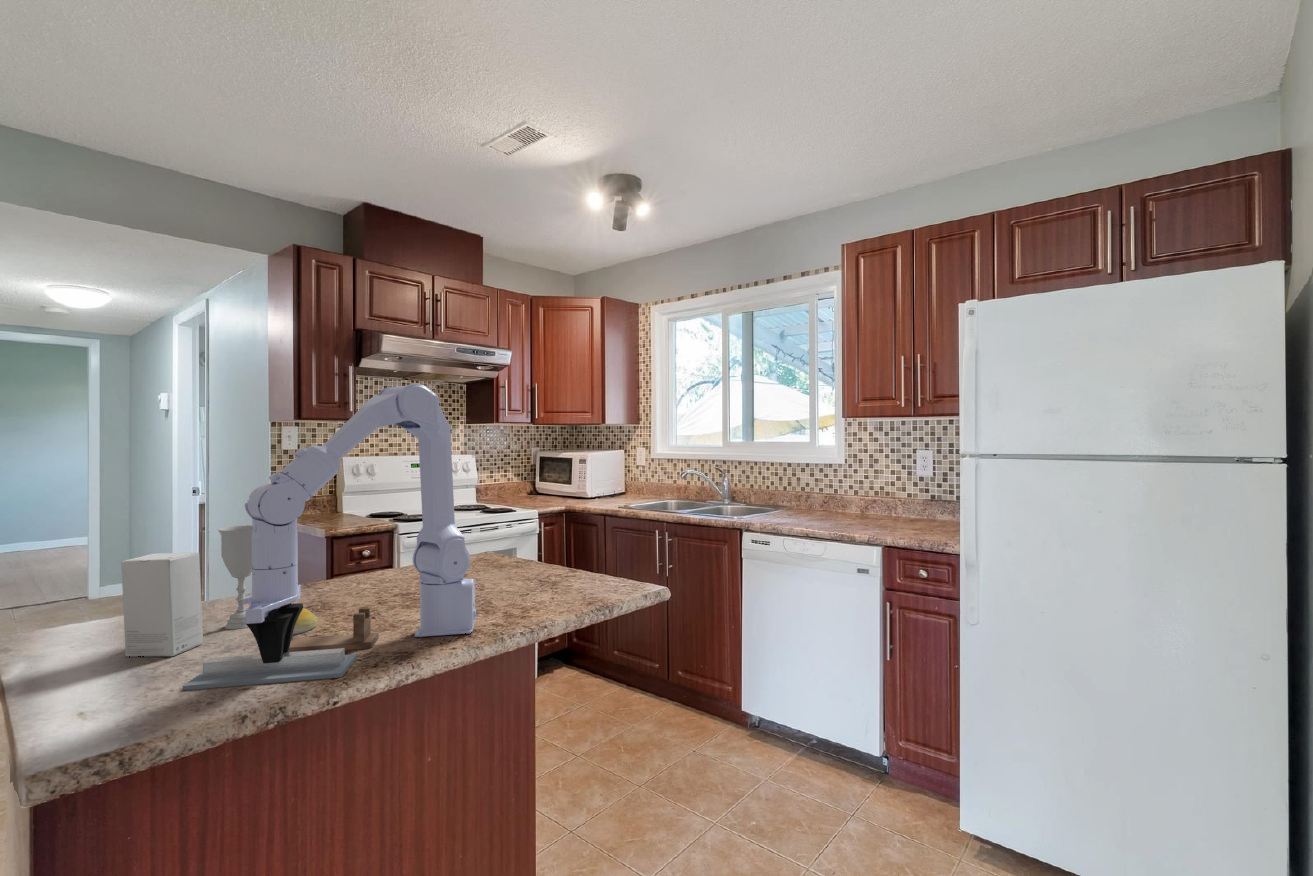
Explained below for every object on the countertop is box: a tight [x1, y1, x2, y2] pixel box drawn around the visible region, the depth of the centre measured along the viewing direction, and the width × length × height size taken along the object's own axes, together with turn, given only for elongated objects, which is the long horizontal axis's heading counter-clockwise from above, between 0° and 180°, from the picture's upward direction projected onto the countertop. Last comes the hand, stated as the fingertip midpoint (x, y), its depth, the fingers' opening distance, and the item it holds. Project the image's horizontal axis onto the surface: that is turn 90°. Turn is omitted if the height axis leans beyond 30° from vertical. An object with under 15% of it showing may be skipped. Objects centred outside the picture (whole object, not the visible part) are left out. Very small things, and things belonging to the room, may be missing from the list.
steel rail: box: [202, 648, 346, 677], centre depth 89 cm, size 18×2×2 cm, turn 102°
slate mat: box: [182, 653, 358, 691], centre depth 89 cm, size 20×8×1 cm, turn 102°
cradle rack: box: [288, 607, 380, 652], centre depth 100 cm, size 16×5×6 cm, turn 102°
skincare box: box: [120, 551, 204, 658], centre depth 99 cm, size 8×7×16 cm
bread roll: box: [293, 607, 318, 636], centre depth 110 cm, size 8×9×4 cm
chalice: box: [217, 525, 252, 630], centre depth 113 cm, size 7×7×18 cm
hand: (275, 659), depth 89 cm, fingers closed on steel rail, 2 cm apart
